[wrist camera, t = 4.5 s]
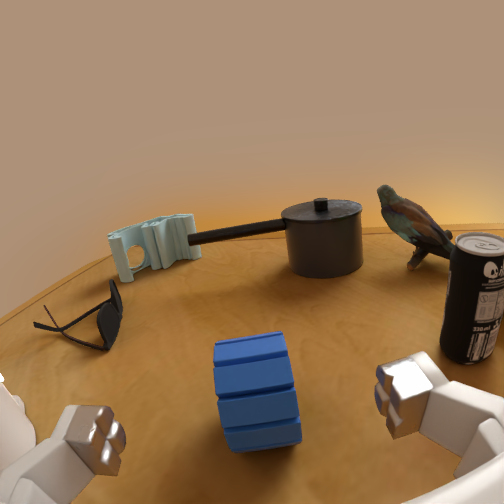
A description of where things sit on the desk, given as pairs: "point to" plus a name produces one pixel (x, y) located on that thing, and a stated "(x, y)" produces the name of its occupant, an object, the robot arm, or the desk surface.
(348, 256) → the saucepan
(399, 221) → the bird figurine
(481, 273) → the beverage can
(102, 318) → the sunglasses
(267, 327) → the desk surface
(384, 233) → the desk surface
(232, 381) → the gear wheel
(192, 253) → the squiggly pen holder
